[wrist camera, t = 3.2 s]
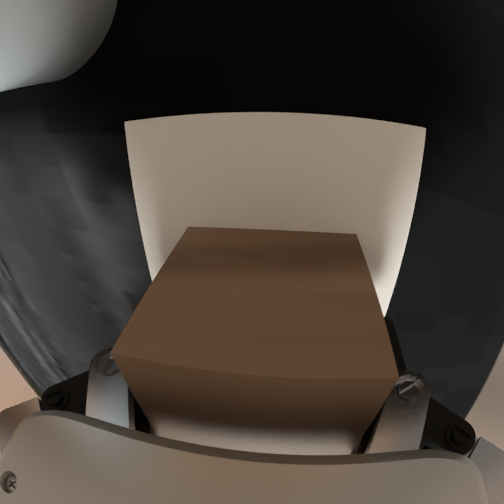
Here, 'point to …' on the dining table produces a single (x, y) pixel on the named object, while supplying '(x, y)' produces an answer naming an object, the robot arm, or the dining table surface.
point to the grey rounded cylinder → (49, 38)
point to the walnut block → (260, 343)
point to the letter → (278, 180)
